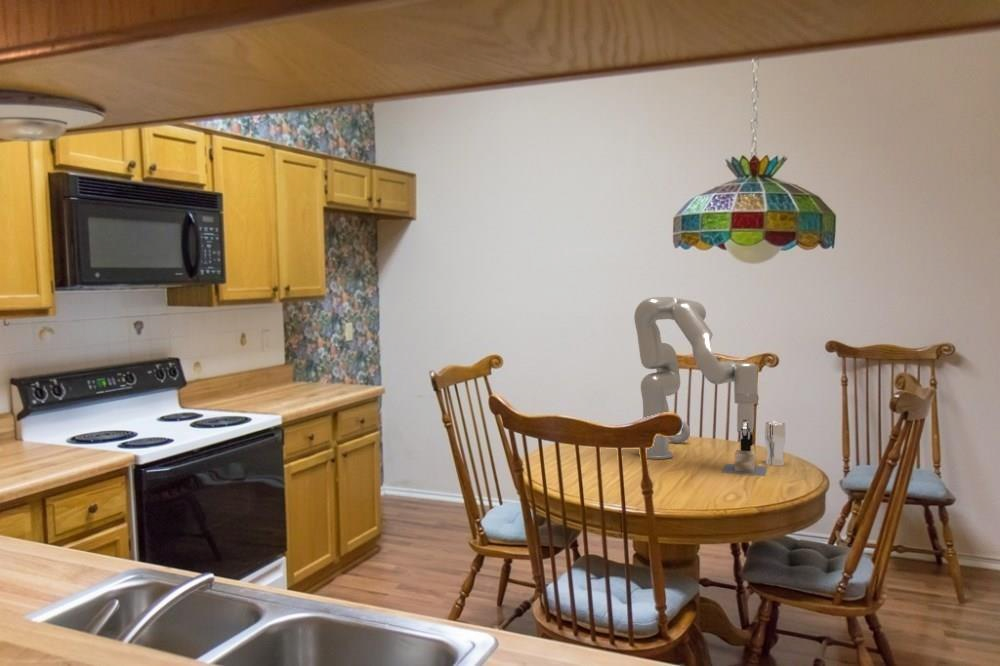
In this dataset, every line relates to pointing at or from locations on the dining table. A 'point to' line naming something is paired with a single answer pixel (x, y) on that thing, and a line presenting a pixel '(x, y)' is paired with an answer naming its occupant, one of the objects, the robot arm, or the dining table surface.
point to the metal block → (744, 461)
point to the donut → (683, 435)
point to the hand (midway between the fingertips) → (746, 448)
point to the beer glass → (775, 442)
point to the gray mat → (757, 471)
